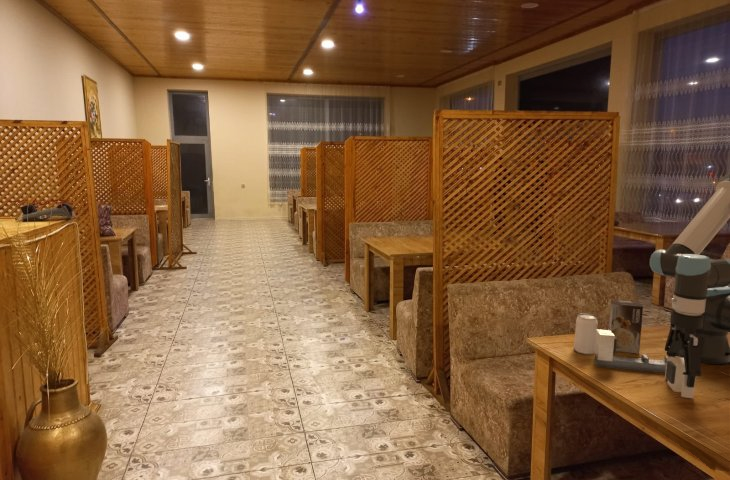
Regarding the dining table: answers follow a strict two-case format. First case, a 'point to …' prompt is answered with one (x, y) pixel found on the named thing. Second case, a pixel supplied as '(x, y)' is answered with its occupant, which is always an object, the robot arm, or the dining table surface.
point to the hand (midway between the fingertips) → (678, 387)
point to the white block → (675, 373)
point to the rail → (605, 358)
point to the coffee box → (626, 324)
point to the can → (585, 333)
